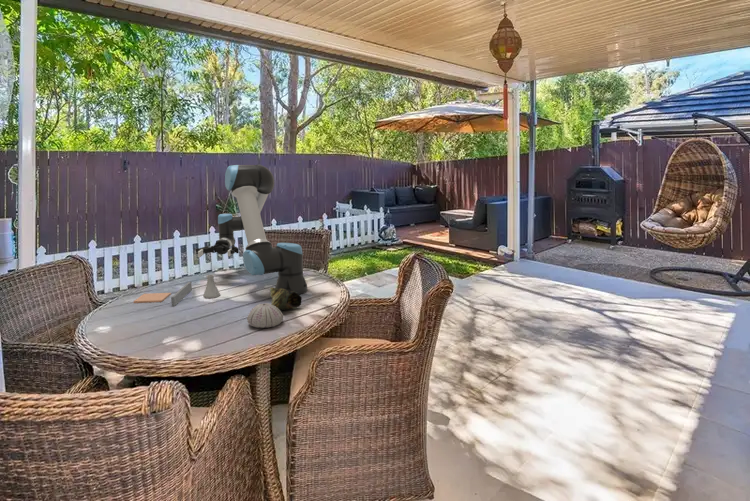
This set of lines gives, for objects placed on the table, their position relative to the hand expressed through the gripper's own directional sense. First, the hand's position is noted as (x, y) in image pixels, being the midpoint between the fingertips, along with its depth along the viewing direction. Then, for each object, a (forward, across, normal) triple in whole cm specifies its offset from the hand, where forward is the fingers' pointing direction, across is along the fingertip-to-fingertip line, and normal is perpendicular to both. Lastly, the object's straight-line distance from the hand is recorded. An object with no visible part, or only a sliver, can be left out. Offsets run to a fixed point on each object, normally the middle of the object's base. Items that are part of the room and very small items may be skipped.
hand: (213, 254), depth 212 cm
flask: (+10, 0, -18) cm, 21 cm away
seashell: (+36, -36, -18) cm, 53 cm away
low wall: (+10, +13, -18) cm, 24 cm away
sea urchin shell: (+51, -29, -18) cm, 61 cm away
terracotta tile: (+10, +26, -18) cm, 33 cm away
